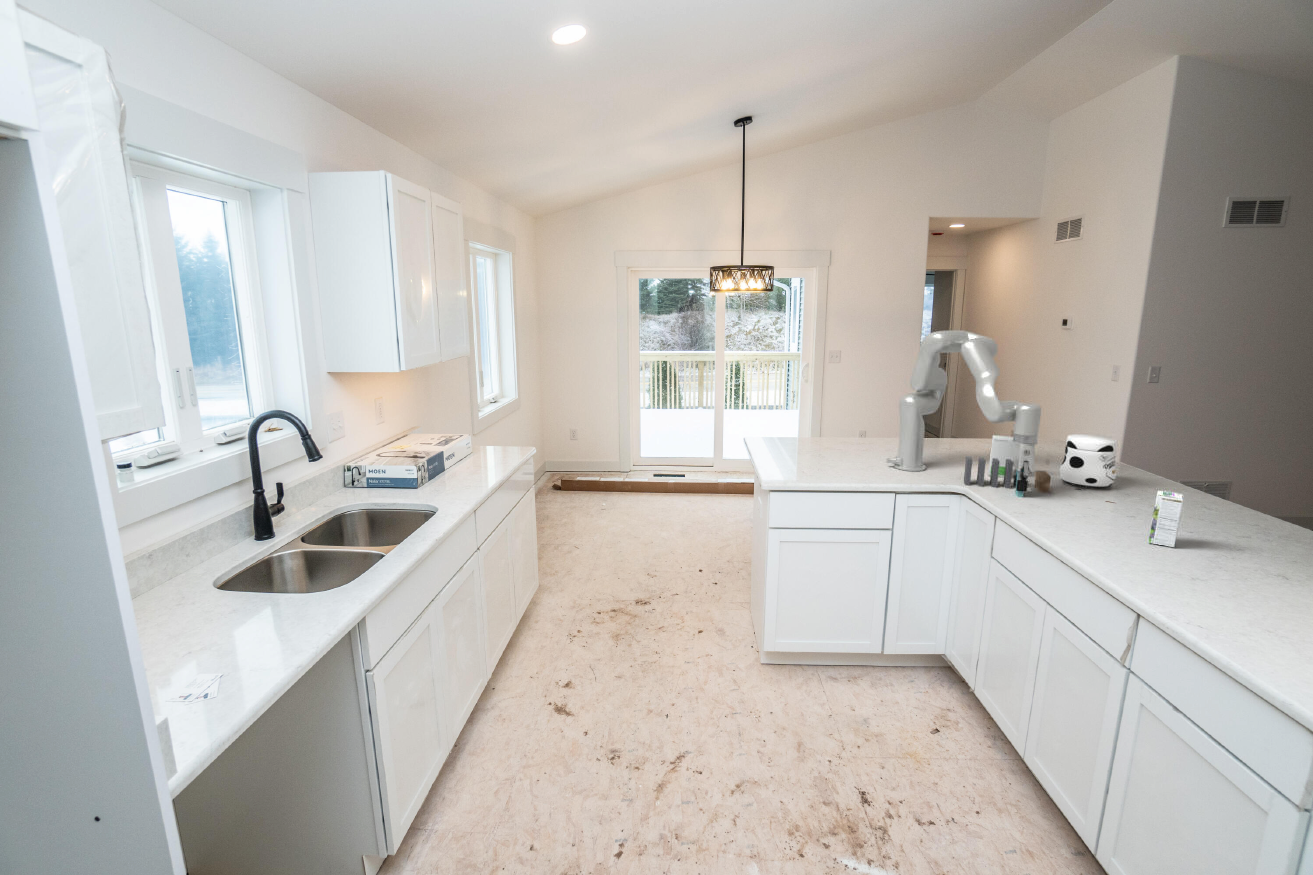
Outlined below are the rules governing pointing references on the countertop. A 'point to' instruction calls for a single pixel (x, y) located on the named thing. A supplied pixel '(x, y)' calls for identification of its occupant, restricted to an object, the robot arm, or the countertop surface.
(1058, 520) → the countertop surface
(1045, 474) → the bookend
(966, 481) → the tile
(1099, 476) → the spotted treat jar
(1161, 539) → the syrup box
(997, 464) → the tile
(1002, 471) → the skincare box
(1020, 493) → the domino
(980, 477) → the tile
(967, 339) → the robot arm
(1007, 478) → the tile
